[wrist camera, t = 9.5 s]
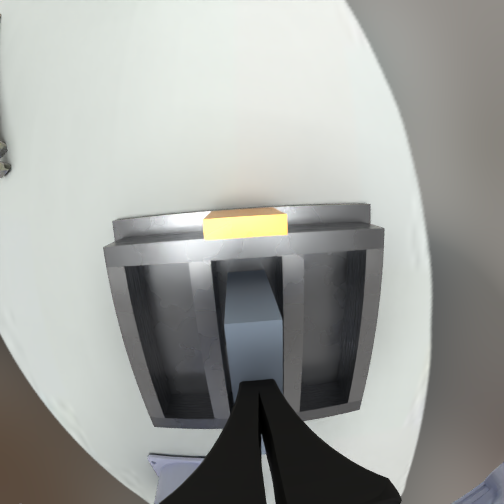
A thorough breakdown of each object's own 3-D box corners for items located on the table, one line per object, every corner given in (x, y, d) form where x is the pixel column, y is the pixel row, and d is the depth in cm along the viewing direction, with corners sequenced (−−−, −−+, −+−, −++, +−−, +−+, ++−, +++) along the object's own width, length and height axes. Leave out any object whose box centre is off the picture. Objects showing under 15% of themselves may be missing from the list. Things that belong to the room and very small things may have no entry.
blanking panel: (268, 383, 17) (281, 452, 11) (238, 385, 17) (242, 455, 11) (264, 269, 15) (282, 319, 9) (227, 272, 15) (223, 323, 9)
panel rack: (349, 391, 18) (370, 431, 14) (159, 406, 18) (147, 450, 13) (365, 203, 15) (409, 210, 11) (116, 219, 15) (76, 232, 10)
